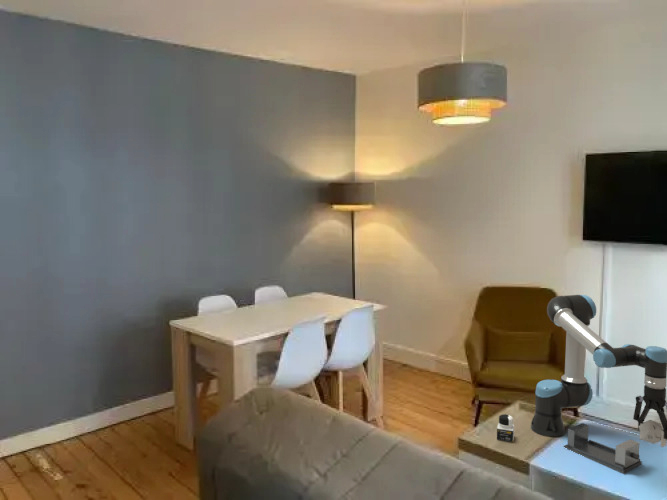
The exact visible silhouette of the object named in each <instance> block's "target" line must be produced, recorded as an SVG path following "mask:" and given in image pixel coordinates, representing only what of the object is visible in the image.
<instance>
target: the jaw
mask: <svg viewBox="0 0 667 500" xmlns="http://www.w3.org/2000/svg"><path fill="white" fill-rule="evenodd" d="M640 444H641V443H640V442H639V441H635V440H633V439H628V440H626V441H623V442H621V443H619V444H617V445H615V449H616V453H615V464H618V465H620V466H623V467H624V468H626V467H628V466H630V465H632V464H634V463H636V462H638V461H639V459H640V447H641V446H640Z"/></svg>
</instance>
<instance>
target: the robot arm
mask: <svg viewBox="0 0 667 500" xmlns="http://www.w3.org/2000/svg"><path fill="white" fill-rule="evenodd" d="M546 314H547V316H548V318H549V319H550V321H551V322H552V323H553V324H554V325H556V326H557V327H561V328H562V329H563V330H564V331H565V334H566V335H565V354H564V355H565V357H564V358H565V359H564V361H565V362H564V374H563V375H561V378H560V381H559V380H557V379H543V380H541V381H538V382H537V384H536V386H535V406H534V407H535V408H534V409H535V410H534V411H535V412H534V415H533V417H532V419H531V422H530V429H531V431H532V432H534V433H536V434H538V435H541V436H544V437H555V438H556V437H561V436H563V435H565V433H566V432H565V429H566V428H565V424H564V421H563V418H562V409H566V408H567V409H569V408H580V407H584V406H587V405H588V404H590V403H591V401H592V399H593V394H594V391H593V389H592V386H591V383H590V382H589V381H588V379H587V378H586V377H585V368H586V366H585V362H586V350H587V351H588V352H589V353H590V354H591V355H592V359H593V362H594V363H595V366H597V367H599V368H601V369H605V368H607V369H610V368H618V367H630V366H637V367H640V368H643V369H644V382H643V383H644V385H643V396H642V395H637V396H635V407H634V412H633V418H632V419H633V420H634V421H636V422H637V430H638V431H639V440H643V438H642V435H641V432H640V430H639V427H638V426H640V425H641V424H643V423H645V422H646V421H645V419H646V418H647V416H648V414H649V412H650V410H654V411H655V412H656V413H657V415H658V417H659V420H660V424H661V426H662V429H663V430H661V440H660V447H661V448H664V447H666V446H667V415H666V414H665V409H666V410H667V400H666V397H667V349H666V348H665V347H661V346H656V345H650V346H647V347H645V348H644V347H640V346H638V345H635V344H629V343H626V344H624V345H621V347H613V346H611V344H609V343H608V342H606V341H605V340H604V339H603V338H602V337H601V336H599V335H598V334H597V333H596V332H595V331H594V330H592V329H591V328H590V327H589V326H590V325H591V320H593V319H594V318H595V317H596V315H597V306H596V302H595V301H594V300H593V298H592V297H590V296H589V295H587V294H572V295H568V294H567V295H557V296H555V297H552V298H551V299H550V301H549V302H548V304H547V306H546ZM643 402H644V404H645V405H644V407H643V406H642V405H643ZM642 407H643V409H642ZM664 408H665V409H664ZM643 441H644V440H643Z"/></svg>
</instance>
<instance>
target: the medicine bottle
mask: <svg viewBox="0 0 667 500" xmlns="http://www.w3.org/2000/svg"><path fill="white" fill-rule="evenodd" d="M496 440H497V441H503V442H508V443H514V440H515V424H514V418H513V416H511V415H509V414H500V415H499V416H498V423H497V427H496Z"/></svg>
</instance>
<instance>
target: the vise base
mask: <svg viewBox="0 0 667 500" xmlns="http://www.w3.org/2000/svg"><path fill="white" fill-rule="evenodd" d="M589 427H590V426H589V424H587V423H584V422H582V423H579V424H576V425H573V426H572V427H569V428H567V444H565V445H563V446H562V447H565V448H567V449H566V450H568V451H570V450H571V451H570V452H572V451H573V452H572V453H574V452H575V453H574V454H577V455H579V454H580V455H579V456H581V455H582V457H583V456H584V457H583V458H586V459H588V460H590V461H592V462H595V463H597V464H599V465H602V466H604V467H607V468H608V469H610V470H613V471H616V472H617V473H619V474H622V475H625V474H627V473H630V472H631V471H632V470H634V469H636V468H638V467H641V466H642V465H643V463H642V461H641V458H639V461H638V462H636V463H634V464H632V465H630V466H628V467H626V468H624V467H623V466H620V465H618V464H615V453H616V448H613V447H610V446H608V445H605V444H602V443H601V442H597V441H595V440H592V439H589V431H590V430H589ZM565 448H564V449H565Z"/></svg>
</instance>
